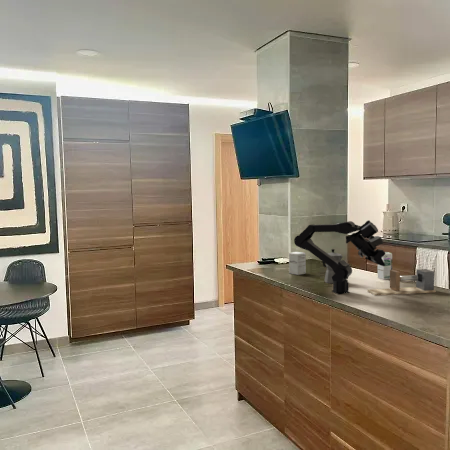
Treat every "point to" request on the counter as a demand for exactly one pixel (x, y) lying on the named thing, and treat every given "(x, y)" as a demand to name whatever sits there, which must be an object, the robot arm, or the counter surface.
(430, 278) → the bearing block
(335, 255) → the coffeepot
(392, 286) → the wooden block with shaft
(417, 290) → the birch base plate
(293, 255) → the supplement box
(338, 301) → the counter surface
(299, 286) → the counter surface
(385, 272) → the syrup box
